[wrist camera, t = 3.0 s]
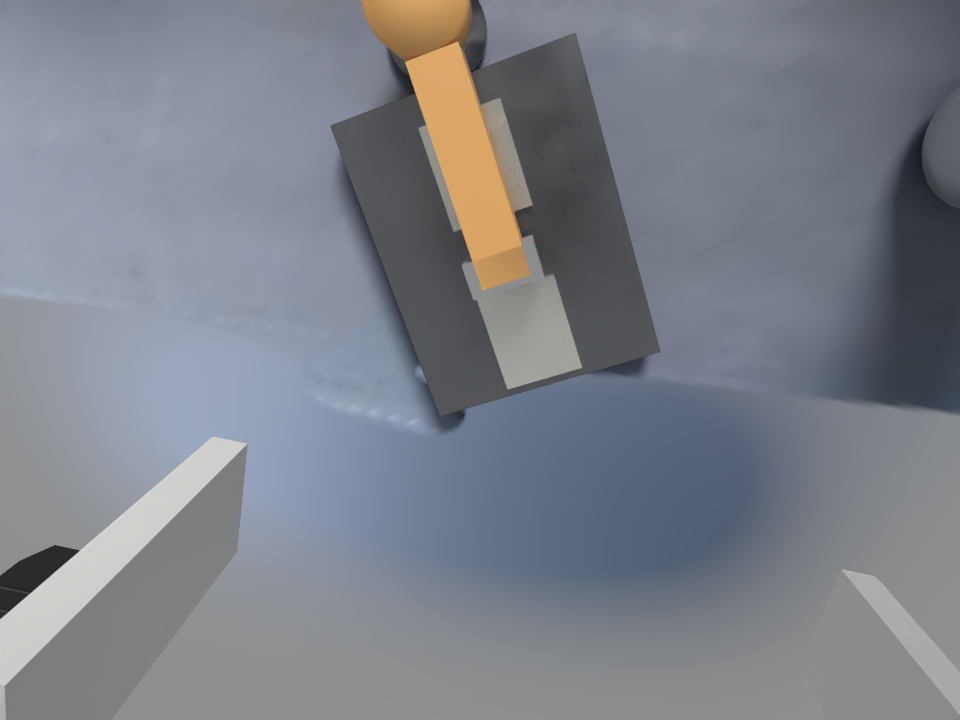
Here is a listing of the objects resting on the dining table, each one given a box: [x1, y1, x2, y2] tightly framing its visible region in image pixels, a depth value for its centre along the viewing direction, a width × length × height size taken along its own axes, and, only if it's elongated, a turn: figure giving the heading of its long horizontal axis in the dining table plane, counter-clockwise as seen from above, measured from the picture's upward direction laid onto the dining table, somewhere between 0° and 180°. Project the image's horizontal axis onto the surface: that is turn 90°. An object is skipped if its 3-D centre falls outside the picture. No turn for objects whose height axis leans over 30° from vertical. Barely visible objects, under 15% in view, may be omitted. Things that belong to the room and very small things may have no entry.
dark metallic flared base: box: [390, 0, 487, 78], centre depth 29 cm, size 5×5×4 cm
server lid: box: [331, 33, 660, 416], centre depth 32 cm, size 16×12×3 cm
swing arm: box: [362, 0, 545, 301], centre depth 26 cm, size 14×4×3 cm, turn 19°
